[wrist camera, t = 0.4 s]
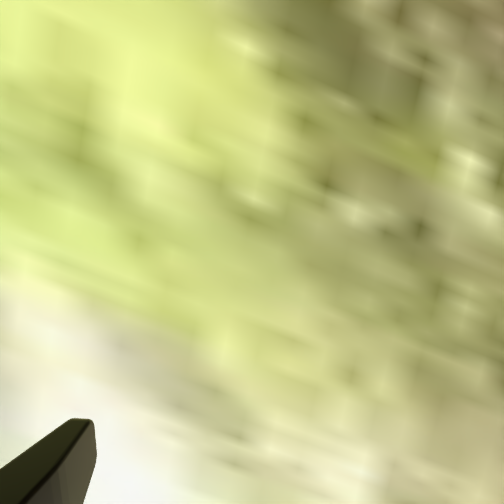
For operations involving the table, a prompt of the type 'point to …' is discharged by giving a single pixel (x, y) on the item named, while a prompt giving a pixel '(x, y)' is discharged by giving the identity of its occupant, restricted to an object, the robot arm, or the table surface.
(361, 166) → the table surface
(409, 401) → the table surface
